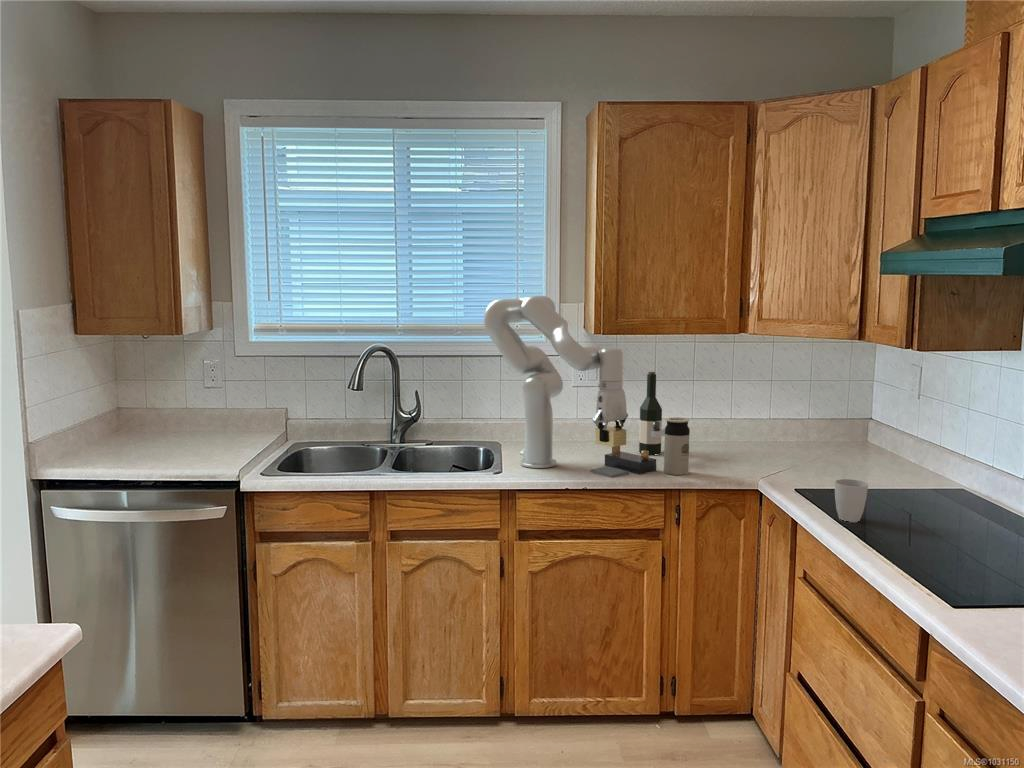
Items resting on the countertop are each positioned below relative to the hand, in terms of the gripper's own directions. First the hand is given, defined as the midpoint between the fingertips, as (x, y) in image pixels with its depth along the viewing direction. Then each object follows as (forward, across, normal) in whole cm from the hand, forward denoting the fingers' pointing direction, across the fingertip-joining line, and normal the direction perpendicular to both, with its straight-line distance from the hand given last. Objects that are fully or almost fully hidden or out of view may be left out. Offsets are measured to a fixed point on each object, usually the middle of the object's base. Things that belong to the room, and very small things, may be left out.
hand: (610, 439), depth 263 cm
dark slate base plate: (+11, +10, 0) cm, 15 cm away
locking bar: (+2, +29, 0) cm, 29 cm away
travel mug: (+12, +17, -14) cm, 24 cm away
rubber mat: (+11, 0, 0) cm, 11 cm away
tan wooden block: (+1, 0, 0) cm, 1 cm away
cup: (+12, +11, -77) cm, 78 cm away
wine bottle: (+11, +34, +12) cm, 38 cm away
